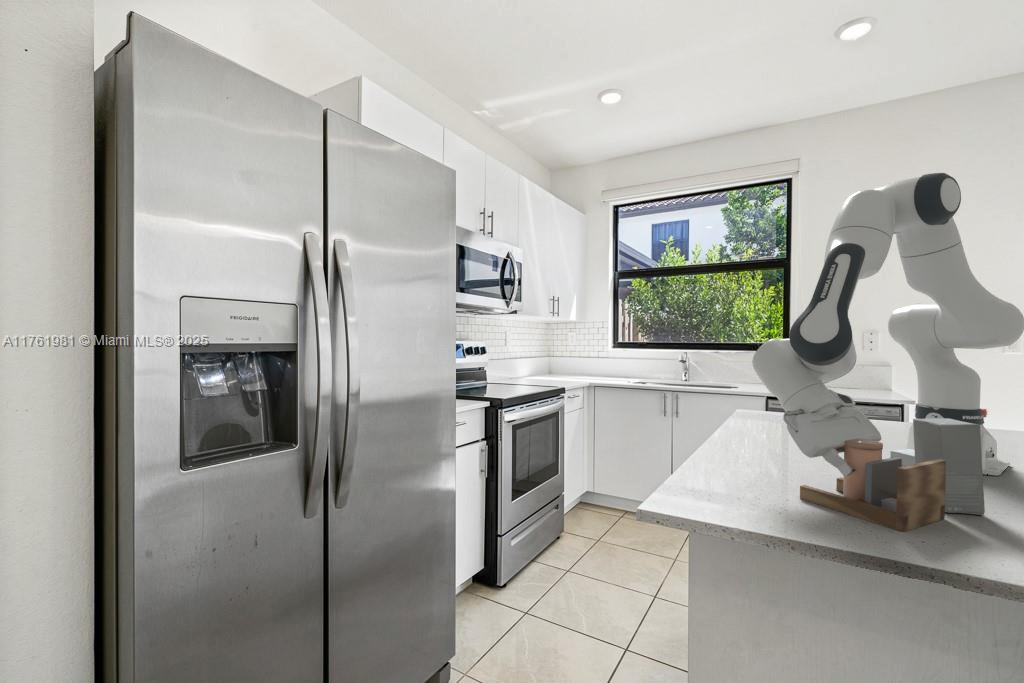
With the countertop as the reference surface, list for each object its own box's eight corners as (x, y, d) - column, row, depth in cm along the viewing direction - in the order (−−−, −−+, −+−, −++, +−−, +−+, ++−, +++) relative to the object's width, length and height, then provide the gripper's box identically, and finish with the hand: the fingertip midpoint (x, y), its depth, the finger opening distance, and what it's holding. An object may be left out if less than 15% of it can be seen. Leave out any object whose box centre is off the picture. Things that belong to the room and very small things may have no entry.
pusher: (894, 506, 88) (895, 457, 88) (916, 512, 85) (917, 461, 85) (864, 514, 84) (865, 462, 84) (886, 521, 81) (887, 467, 81)
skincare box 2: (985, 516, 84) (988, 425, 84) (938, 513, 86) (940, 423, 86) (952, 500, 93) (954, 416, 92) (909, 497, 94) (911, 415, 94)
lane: (840, 489, 99) (841, 439, 98) (944, 518, 83) (946, 460, 83) (799, 498, 93) (800, 446, 93) (903, 531, 78) (904, 469, 77)
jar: (853, 498, 93) (855, 437, 93) (888, 508, 88) (889, 443, 88) (835, 503, 90) (836, 440, 90) (869, 514, 85) (871, 446, 85)
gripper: (790, 402, 90) (844, 468, 82) (855, 396, 99) (910, 455, 91) (767, 422, 95) (817, 486, 86) (832, 414, 103) (883, 472, 95)
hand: (866, 470), depth 88 cm, fingers open, 8 cm apart
